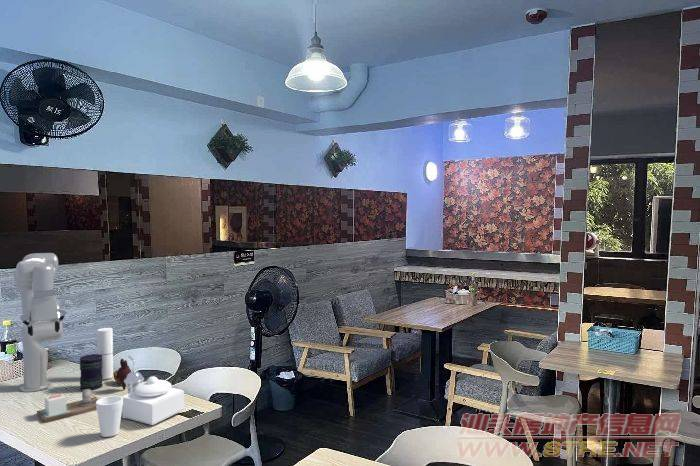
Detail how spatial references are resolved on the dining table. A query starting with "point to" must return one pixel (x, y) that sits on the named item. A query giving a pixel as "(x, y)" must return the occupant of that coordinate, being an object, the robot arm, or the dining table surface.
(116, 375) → the hot dog
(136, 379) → the cup with straw
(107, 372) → the cylindrical container
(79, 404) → the post stand
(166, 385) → the butter dish
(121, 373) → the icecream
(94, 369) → the storage jar
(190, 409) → the dining table surface
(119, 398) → the foam cup
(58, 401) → the white cube with handle
